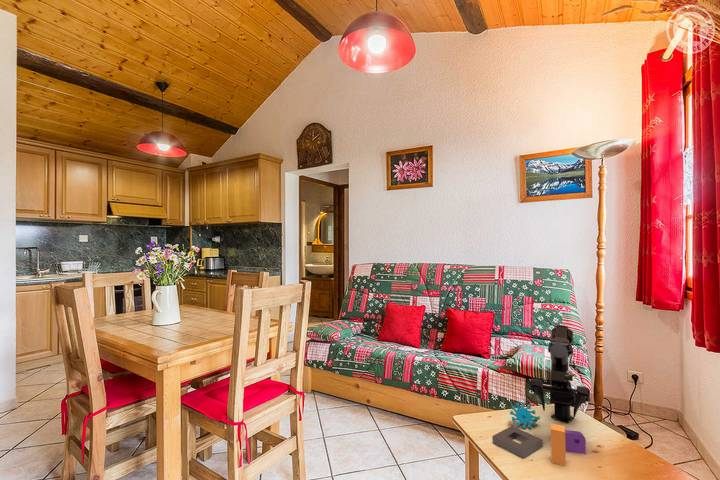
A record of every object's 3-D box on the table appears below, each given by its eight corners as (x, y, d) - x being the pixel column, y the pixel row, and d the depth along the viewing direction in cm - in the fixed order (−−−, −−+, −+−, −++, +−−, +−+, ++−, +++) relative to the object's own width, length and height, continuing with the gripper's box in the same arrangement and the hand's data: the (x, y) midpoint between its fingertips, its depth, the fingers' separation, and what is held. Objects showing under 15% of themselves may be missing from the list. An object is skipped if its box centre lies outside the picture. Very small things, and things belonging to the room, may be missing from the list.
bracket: (585, 455, 124) (585, 435, 124) (563, 452, 126) (563, 432, 126) (574, 436, 136) (574, 418, 136) (554, 434, 138) (554, 416, 138)
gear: (510, 424, 142) (510, 398, 148) (507, 429, 146) (508, 404, 153) (541, 431, 139) (540, 405, 145) (537, 436, 143) (536, 410, 150)
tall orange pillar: (552, 456, 124) (551, 423, 124) (565, 459, 122) (565, 426, 122) (551, 462, 120) (550, 429, 120) (565, 466, 118) (564, 432, 118)
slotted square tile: (511, 432, 139) (511, 425, 139) (542, 446, 129) (542, 439, 129) (492, 442, 132) (492, 436, 132) (523, 458, 123) (523, 451, 123)
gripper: (530, 356, 136) (527, 397, 127) (589, 364, 127) (590, 409, 117) (532, 371, 143) (530, 411, 134) (589, 379, 133) (590, 423, 124)
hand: (558, 413), depth 127 cm, fingers open, 9 cm apart
